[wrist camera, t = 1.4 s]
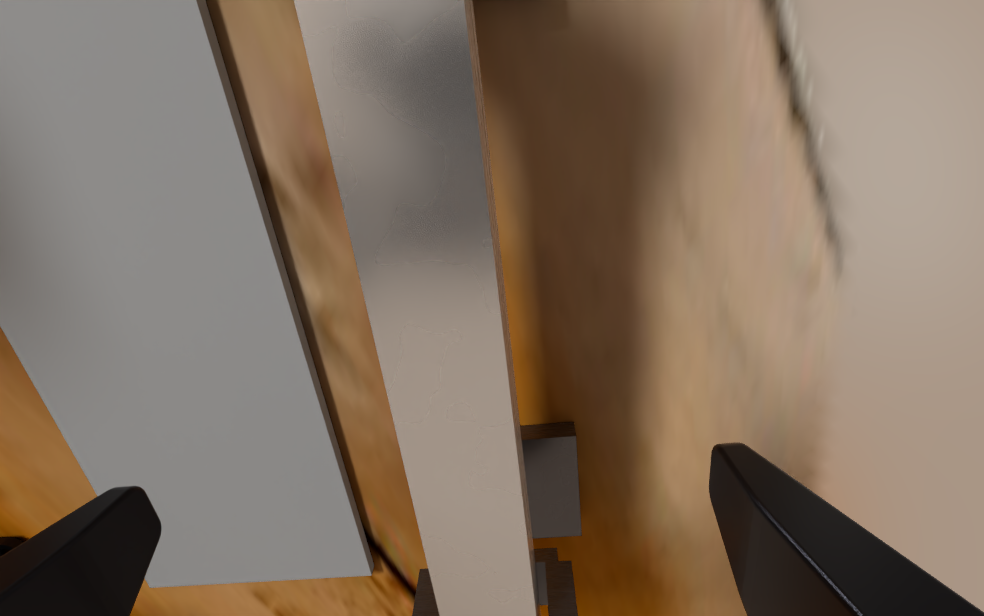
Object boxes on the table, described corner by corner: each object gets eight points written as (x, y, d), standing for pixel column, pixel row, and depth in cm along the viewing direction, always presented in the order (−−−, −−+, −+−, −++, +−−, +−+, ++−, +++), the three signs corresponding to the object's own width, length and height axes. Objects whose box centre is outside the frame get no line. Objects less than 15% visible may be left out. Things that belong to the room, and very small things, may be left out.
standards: (579, 519, 23) (607, 714, 16) (434, 528, 23) (406, 721, 17) (533, -273, 12) (562, -621, 6) (268, -230, 13) (15, -506, 6)
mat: (374, 565, 24) (371, 575, 24) (156, 577, 25) (149, 587, 25) (106, -331, 12) (91, -345, 11) (-309, -256, 13) (-340, -267, 12)
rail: (542, 624, 18) (547, 707, 16) (467, 628, 19) (462, 710, 16) (432, -365, 8) (404, -511, 6) (269, -336, 8) (183, -468, 6)
